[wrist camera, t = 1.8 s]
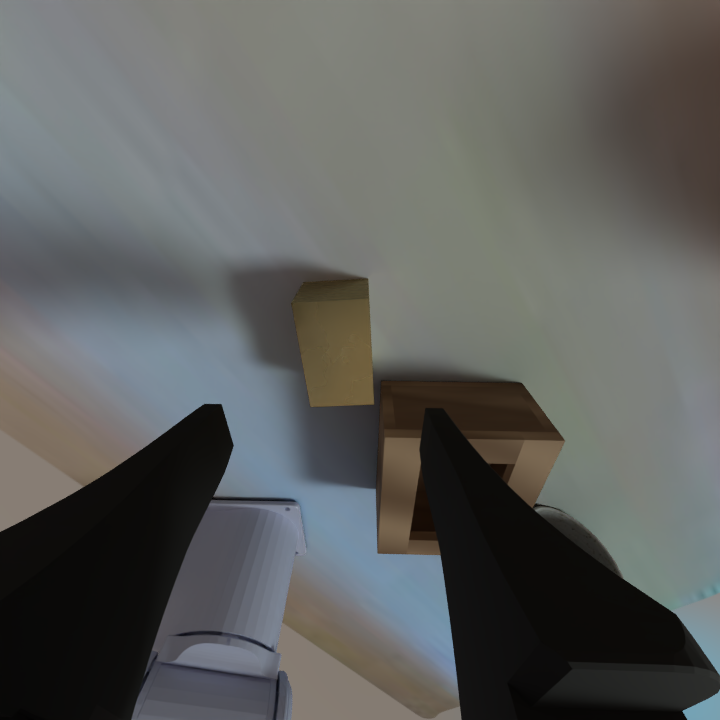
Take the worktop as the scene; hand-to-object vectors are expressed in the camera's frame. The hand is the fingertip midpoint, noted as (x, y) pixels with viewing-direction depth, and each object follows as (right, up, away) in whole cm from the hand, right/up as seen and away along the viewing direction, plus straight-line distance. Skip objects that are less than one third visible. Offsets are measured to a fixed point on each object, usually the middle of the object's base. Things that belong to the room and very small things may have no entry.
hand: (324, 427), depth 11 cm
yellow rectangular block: (0, +4, +7) cm, 8 cm away
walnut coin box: (+7, -4, +11) cm, 14 cm away
